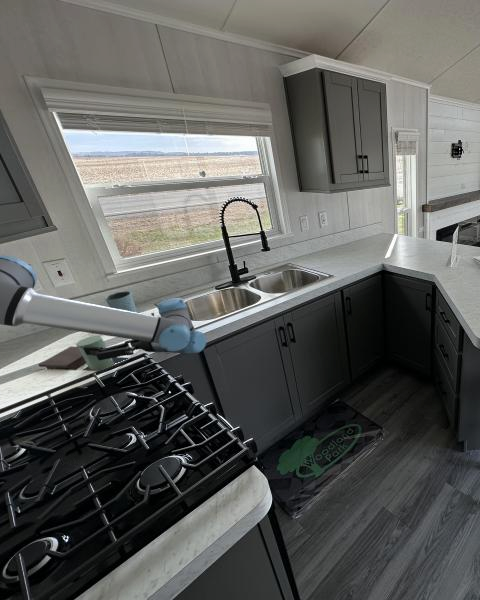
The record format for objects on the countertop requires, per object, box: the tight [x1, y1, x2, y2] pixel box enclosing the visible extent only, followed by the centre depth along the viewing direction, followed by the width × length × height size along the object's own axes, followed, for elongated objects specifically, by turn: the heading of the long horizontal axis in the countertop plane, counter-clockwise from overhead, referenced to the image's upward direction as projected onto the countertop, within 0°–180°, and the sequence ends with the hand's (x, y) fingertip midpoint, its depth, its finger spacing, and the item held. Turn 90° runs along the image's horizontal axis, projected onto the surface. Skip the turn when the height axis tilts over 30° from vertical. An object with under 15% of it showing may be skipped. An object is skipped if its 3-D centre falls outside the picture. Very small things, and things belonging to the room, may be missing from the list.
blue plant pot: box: [104, 290, 138, 313], centre depth 161 cm, size 10×10×12 cm
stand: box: [37, 346, 87, 371], centre depth 127 cm, size 12×12×4 cm
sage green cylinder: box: [75, 335, 114, 372], centre depth 122 cm, size 7×7×12 cm
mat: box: [82, 356, 129, 372], centre depth 124 cm, size 13×13×1 cm
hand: (104, 339), depth 115 cm, fingers open, 13 cm apart
